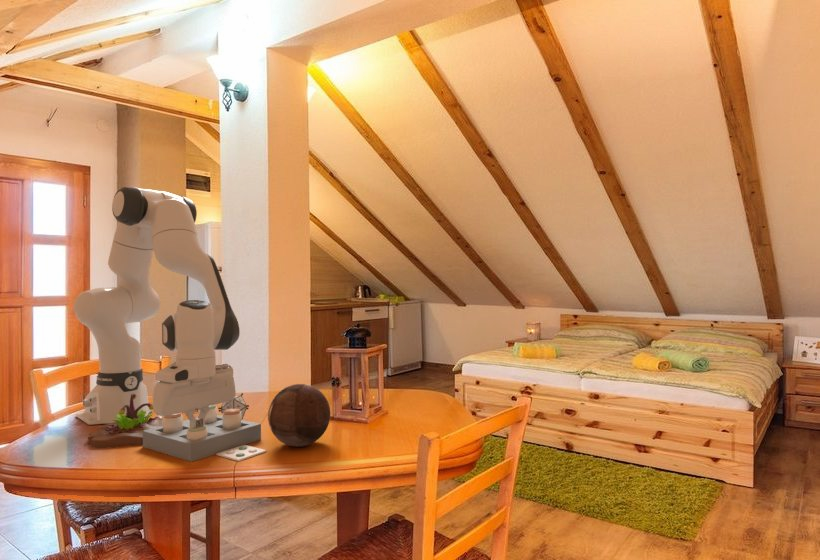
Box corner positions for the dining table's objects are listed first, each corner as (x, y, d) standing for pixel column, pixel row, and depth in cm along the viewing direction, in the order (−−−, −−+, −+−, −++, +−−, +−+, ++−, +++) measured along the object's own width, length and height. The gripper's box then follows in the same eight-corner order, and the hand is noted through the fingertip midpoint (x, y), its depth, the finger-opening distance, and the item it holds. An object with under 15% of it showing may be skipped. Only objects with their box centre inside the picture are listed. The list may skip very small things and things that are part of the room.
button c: (183, 451, 132) (182, 427, 132) (200, 445, 136) (199, 423, 136) (194, 454, 130) (194, 430, 130) (211, 449, 133) (211, 425, 133)
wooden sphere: (334, 435, 145) (333, 378, 144) (325, 454, 130) (324, 390, 129) (276, 436, 145) (275, 379, 144) (261, 455, 130) (260, 391, 129)
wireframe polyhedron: (237, 436, 158) (237, 413, 152) (211, 424, 160) (210, 401, 154) (255, 414, 165) (255, 392, 159) (230, 403, 167) (230, 380, 161)
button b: (195, 427, 146) (194, 406, 146) (210, 423, 150) (209, 402, 150) (205, 430, 144) (205, 408, 143) (220, 426, 147) (220, 405, 147)
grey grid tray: (142, 447, 137) (142, 430, 137) (212, 427, 154) (212, 413, 154) (191, 461, 126) (190, 444, 126) (261, 439, 142) (260, 423, 142)
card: (216, 455, 130) (216, 452, 130) (244, 446, 137) (244, 444, 137) (238, 461, 126) (238, 459, 126) (266, 451, 132) (266, 449, 132)
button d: (218, 433, 140) (218, 411, 140) (233, 429, 144) (233, 407, 144) (230, 436, 138) (229, 413, 138) (245, 431, 142) (245, 409, 142)
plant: (179, 424, 160) (178, 385, 159) (167, 444, 141) (166, 400, 140) (102, 430, 155) (101, 389, 155) (79, 451, 136) (78, 405, 136)
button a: (159, 437, 138) (158, 414, 138) (176, 432, 142) (175, 410, 142) (169, 440, 135) (169, 417, 135) (186, 435, 139) (186, 413, 139)
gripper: (224, 361, 143) (225, 415, 143) (148, 374, 126) (149, 434, 126) (240, 363, 139) (241, 418, 140) (164, 376, 123) (165, 439, 123)
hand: (197, 426), depth 133 cm, fingers closed, pressing on button c
